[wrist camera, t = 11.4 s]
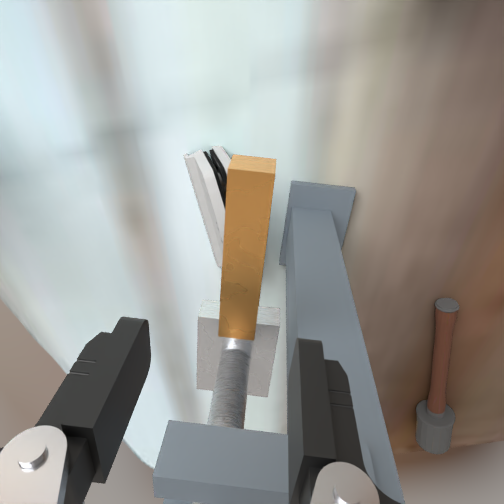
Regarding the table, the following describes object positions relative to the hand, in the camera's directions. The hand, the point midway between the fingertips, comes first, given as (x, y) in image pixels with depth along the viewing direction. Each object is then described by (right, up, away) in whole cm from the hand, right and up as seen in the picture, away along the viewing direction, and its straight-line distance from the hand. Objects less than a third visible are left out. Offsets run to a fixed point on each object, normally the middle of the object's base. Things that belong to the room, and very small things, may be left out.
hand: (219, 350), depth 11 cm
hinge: (-2, +9, +39) cm, 40 cm away
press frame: (+6, +7, +39) cm, 40 cm away
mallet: (+32, -16, +52) cm, 63 cm away
